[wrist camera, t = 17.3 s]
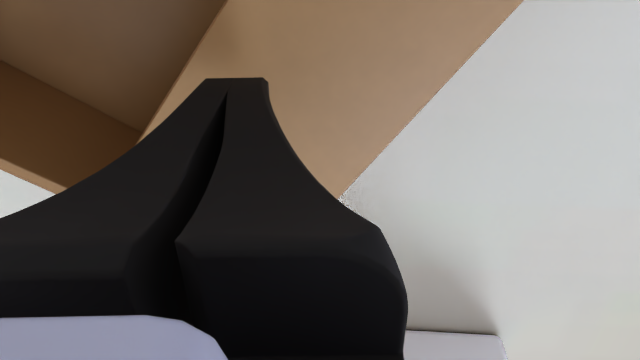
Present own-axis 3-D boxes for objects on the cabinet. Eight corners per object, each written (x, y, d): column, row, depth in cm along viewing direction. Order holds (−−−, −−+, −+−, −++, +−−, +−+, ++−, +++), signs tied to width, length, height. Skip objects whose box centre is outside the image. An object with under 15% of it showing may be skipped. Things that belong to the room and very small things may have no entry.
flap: (360, -216, 11) (361, -214, 11) (557, -46, 13) (562, -40, 12) (90, 215, 17) (86, 223, 17) (247, 288, 19) (246, 296, 19)
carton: (137, -423, 12) (73, -471, 9) (503, -103, 16) (555, -52, 13) (-36, 44, 19) (-112, 120, 15) (258, 193, 23) (249, 280, 19)
